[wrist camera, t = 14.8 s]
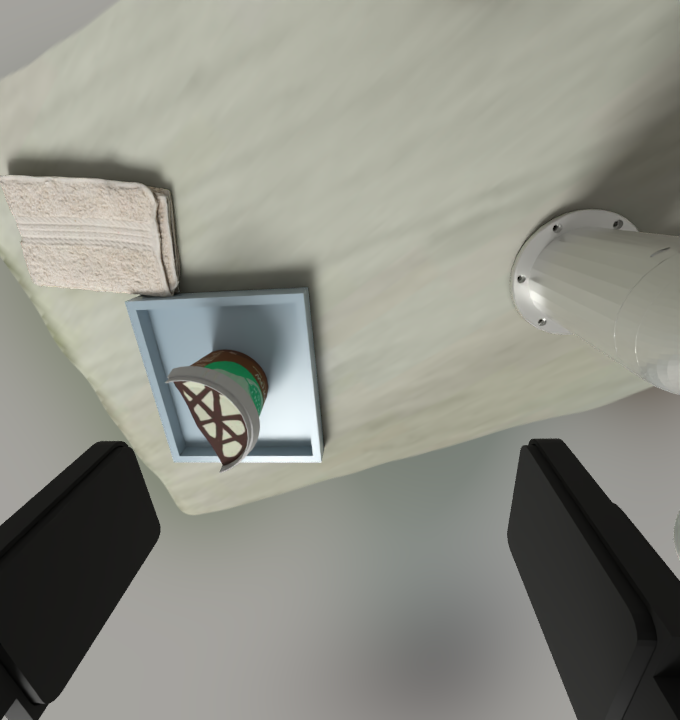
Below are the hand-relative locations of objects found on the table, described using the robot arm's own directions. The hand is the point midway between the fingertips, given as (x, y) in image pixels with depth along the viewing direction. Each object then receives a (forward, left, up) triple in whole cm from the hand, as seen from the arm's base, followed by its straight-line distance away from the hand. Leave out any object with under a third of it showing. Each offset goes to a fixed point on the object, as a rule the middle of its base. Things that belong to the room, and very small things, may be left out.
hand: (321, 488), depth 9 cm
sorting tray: (+16, +13, -33) cm, 39 cm away
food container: (+14, +13, -32) cm, 38 cm away
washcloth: (+29, -5, -34) cm, 45 cm away
